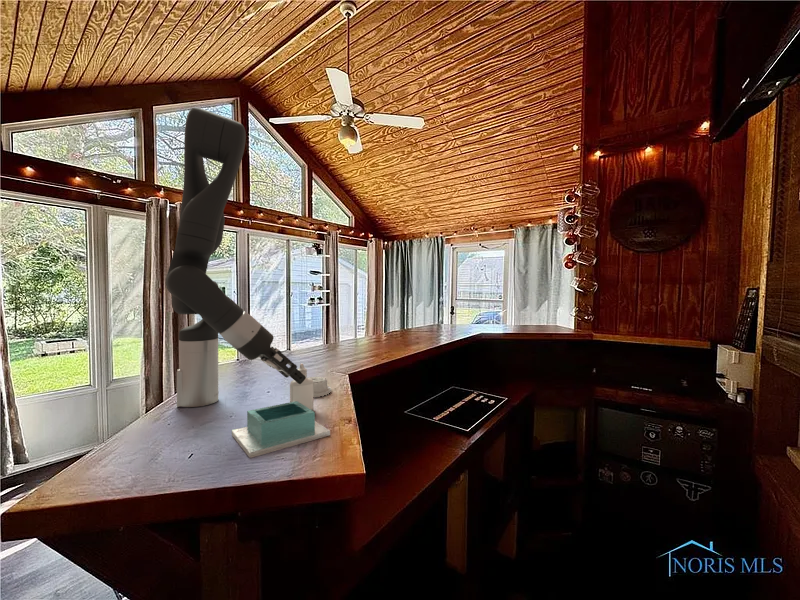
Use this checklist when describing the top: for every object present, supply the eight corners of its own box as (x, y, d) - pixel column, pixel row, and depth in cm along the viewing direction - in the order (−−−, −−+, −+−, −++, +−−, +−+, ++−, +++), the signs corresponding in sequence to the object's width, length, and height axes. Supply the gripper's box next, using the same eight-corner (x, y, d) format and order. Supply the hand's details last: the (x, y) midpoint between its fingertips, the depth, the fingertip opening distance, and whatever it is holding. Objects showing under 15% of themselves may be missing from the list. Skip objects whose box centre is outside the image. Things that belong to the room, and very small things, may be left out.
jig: (249, 458, 62) (249, 430, 62) (231, 435, 72) (231, 411, 72) (330, 435, 72) (330, 411, 72) (304, 417, 82) (304, 397, 82)
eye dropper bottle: (311, 413, 85) (311, 365, 84) (288, 414, 84) (288, 365, 84) (314, 408, 89) (314, 362, 89) (292, 408, 89) (292, 362, 88)
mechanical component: (290, 397, 99) (323, 399, 97) (290, 382, 99) (323, 384, 97) (306, 388, 108) (336, 390, 107) (306, 374, 108) (336, 376, 106)
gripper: (269, 324, 74) (318, 370, 81) (250, 321, 85) (295, 361, 92) (243, 351, 71) (296, 396, 78) (226, 344, 82) (275, 384, 89)
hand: (295, 377), depth 85 cm, fingers open, 8 cm apart
